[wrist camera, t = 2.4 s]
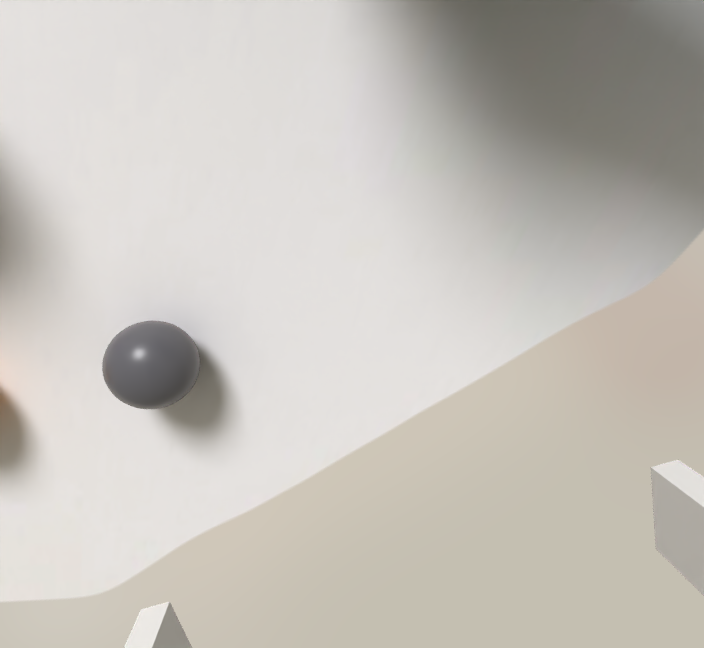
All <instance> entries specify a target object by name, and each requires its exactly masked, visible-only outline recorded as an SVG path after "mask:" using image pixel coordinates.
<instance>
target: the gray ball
mask: <svg viewBox="0 0 704 648" xmlns="http://www.w3.org/2000/svg"><path fill="white" fill-rule="evenodd" d="M199 370H200V356H199V352H198V349H197V346H196V345H195V343H194V341H193V340H192V338H191V337H190V336H189V335H188V334H187V333H186V332H185V331H183V330H182V329H180V328H179V327H177V326H175V325H173V324H170V323H166V322H161V321H145V322H140V323H137V324H134V325H131V326H129V327H127V328H126V329H124V330H123V331H121V332H120V333H119V334H117V335H116V336H115V337H114V338H113V340H112V341H111V343H110V344H109V345H108V347H107V349H106V351H105V354H104V358H103V376H104V380H105V382H106V384H107V386H108V388H109V389H110V391H111V392H112V393H113V394H114V395H115V396H116V397H117V398H118V399H119V400H120V401H122V402H124V403H126V404H128V405H130V406H133V407H136V408H140V409H158V408H162V407H166V406H169V405H171V404H173V403H175V402H177V401H179V400H180V399H181V398H183V397H184V396H185V395H186V394H187V393H188V392H189V391H190V390H191V388H192V387H193V385H194V384H195V382H196V380H197V377H198V375H199Z"/></svg>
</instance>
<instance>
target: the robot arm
mask: <svg viewBox="0 0 704 648" xmlns="http://www.w3.org/2000/svg"><path fill="white" fill-rule="evenodd" d="M651 479H652V496H653V512H654V528H655V544H656V549H657V550H658V551H659V552H660V553H661V554H662V555H663V556H664V557H665V558H666V559H667V560H668V561H669V562H670V563H671V564H672V565H673V566H674V567H675V568H676V569H677V570H678V571H679V572H680V573H681V574H682V575H683V576H684V577H685V578H686V579H687V580H688V581H689V582H690V583H691V584H692V585H693V586H694V587H695V588H696V589H697V590H698V591H699V592H700V593H701V594H702V595H703V596H704V477H703V476H702V475H700V474H699V473H697V472H696V471H694V470H693V469H691V468H690V467H688V466H687V465H685V464H684V463H683V462H681V461H680V460H675V461H671V462H668V463H664V464H661V465H657V466H654V467H651ZM124 648H192V646H191V644H190V642H189V640H188V638H187V636H186V634H185V632H184V630H183V628H182V626H181V624H180V622H179V620H178V618H177V616H176V614H175V612H174V610H173V608H172V605H171V603H170V602H166V603H163V604H159V605H155V606H152V607H148V608H145V609H141V611H140V613H139V615H138V617H137V619H136V622H135V624H134V626H133V629H132V631H131V633H130V635H129V637H128V640H127V642H126V644H125V647H124Z"/></svg>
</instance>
